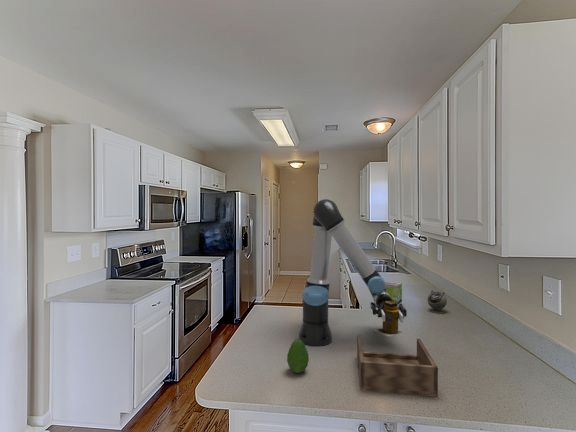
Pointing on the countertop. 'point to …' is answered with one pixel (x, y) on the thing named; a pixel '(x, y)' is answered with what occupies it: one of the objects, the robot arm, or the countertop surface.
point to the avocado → (297, 356)
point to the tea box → (394, 291)
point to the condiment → (390, 319)
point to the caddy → (398, 371)
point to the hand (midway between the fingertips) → (393, 318)
